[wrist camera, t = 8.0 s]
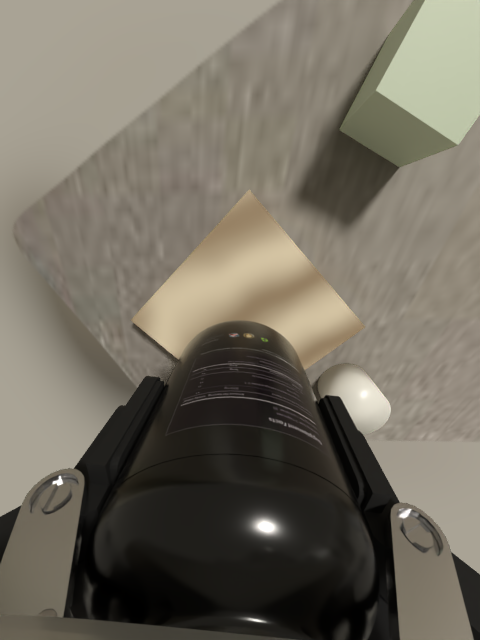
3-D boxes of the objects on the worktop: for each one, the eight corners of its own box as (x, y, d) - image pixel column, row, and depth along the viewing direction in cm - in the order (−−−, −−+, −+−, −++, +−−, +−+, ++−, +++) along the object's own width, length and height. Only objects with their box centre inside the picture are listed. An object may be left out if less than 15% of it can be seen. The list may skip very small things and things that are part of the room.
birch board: (357, 320, 20) (365, 327, 19) (244, 402, 25) (243, 413, 23) (249, 192, 17) (249, 189, 16) (138, 314, 21) (130, 320, 20)
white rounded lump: (378, 385, 23) (402, 416, 19) (336, 411, 25) (351, 444, 21) (349, 353, 22) (369, 380, 18) (307, 382, 23) (317, 412, 20)
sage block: (453, 81, 14) (551, 13, 10) (398, 167, 16) (458, 144, 11) (388, 35, 14) (458, -62, 9) (338, 130, 15) (375, 90, 11)
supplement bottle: (288, 422, 14) (413, 1062, 3) (180, 409, 14) (-48, 1022, 3) (314, 323, 12) (1263, 1763, 1) (182, 306, 12) (-901, 1643, 1)
